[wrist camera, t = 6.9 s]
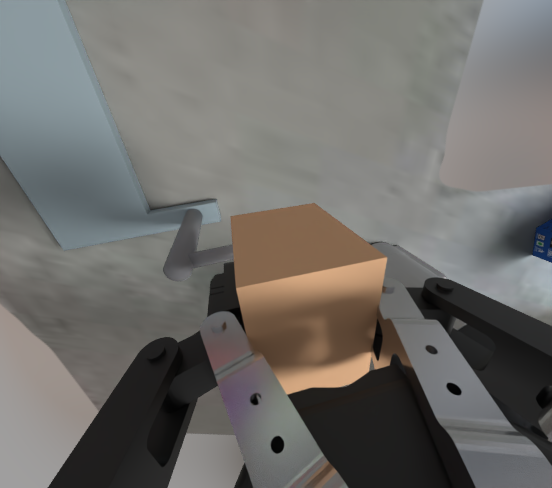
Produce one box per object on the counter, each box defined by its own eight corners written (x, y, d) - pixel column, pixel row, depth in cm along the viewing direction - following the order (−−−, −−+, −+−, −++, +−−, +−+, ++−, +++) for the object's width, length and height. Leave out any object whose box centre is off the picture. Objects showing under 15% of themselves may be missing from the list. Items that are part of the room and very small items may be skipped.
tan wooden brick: (316, 202, 12) (390, 256, 7) (317, 290, 15) (369, 377, 9) (228, 216, 11) (232, 288, 6) (246, 305, 14) (260, 409, 9)
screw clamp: (185, -60, 18) (122, -413, 6) (240, 213, 29) (254, 267, 18) (-124, -60, 15) (-1342, -742, 3) (71, 244, 26) (-47, 334, 15)
